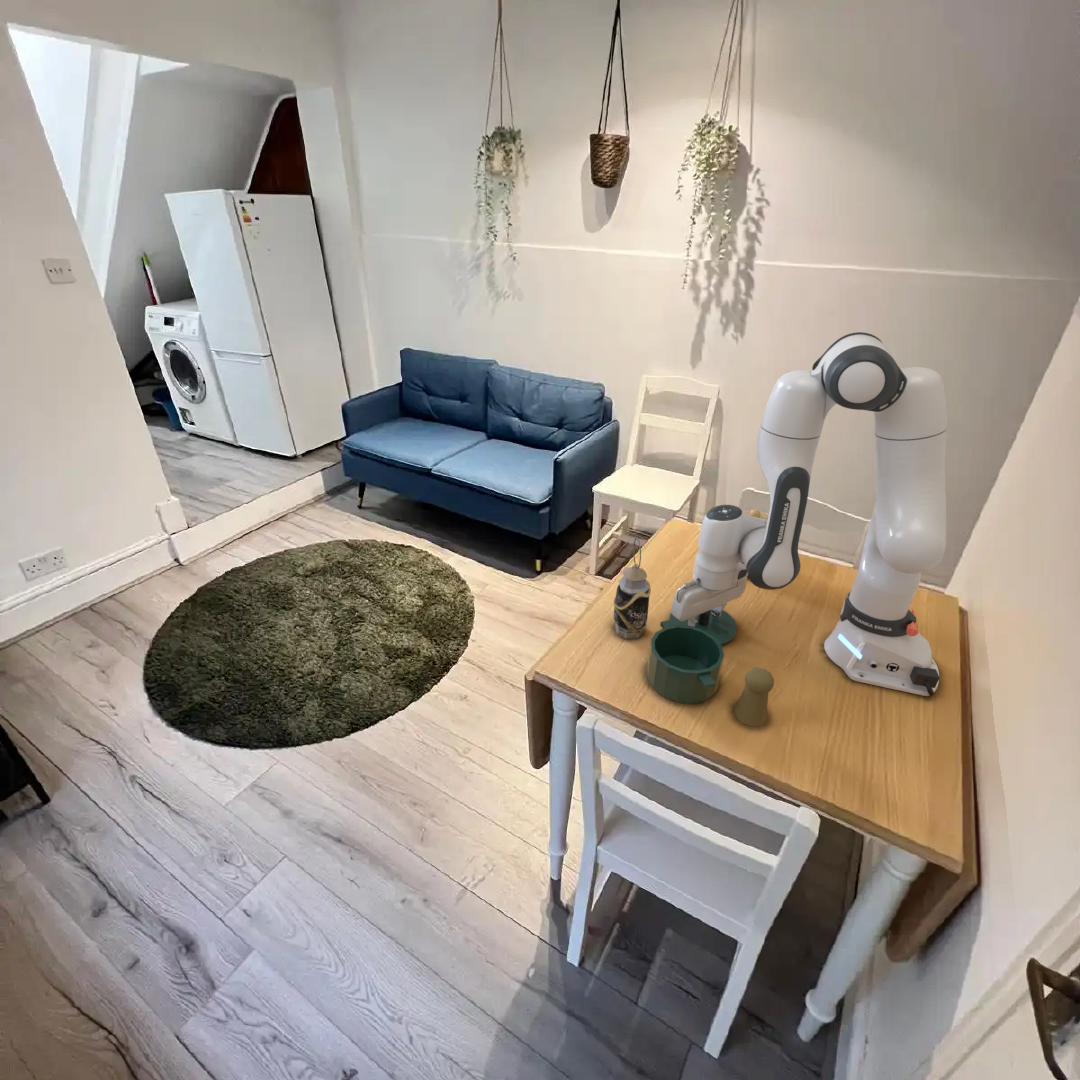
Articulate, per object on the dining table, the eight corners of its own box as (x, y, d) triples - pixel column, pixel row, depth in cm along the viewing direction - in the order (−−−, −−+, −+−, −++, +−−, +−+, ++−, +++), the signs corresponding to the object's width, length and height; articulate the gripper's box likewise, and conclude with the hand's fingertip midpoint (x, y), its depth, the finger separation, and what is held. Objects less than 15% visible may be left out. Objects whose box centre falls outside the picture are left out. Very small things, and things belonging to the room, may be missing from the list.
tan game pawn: (768, 728, 111) (780, 687, 106) (736, 724, 112) (746, 683, 106) (763, 705, 116) (775, 664, 111) (732, 701, 117) (742, 660, 112)
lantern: (649, 641, 133) (661, 549, 120) (614, 642, 133) (622, 550, 120) (641, 617, 140) (651, 529, 128) (608, 619, 140) (615, 530, 127)
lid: (715, 602, 146) (718, 587, 143) (749, 641, 133) (752, 626, 130) (658, 611, 143) (660, 596, 140) (687, 653, 130) (690, 637, 127)
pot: (690, 642, 133) (695, 612, 128) (737, 705, 116) (745, 674, 112) (631, 653, 130) (635, 623, 125) (671, 720, 113) (676, 688, 109)
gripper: (688, 594, 123) (680, 643, 130) (755, 567, 132) (744, 614, 139) (668, 579, 127) (661, 628, 134) (734, 554, 136) (724, 601, 143)
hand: (704, 621), depth 137 cm, fingers open, 6 cm apart
